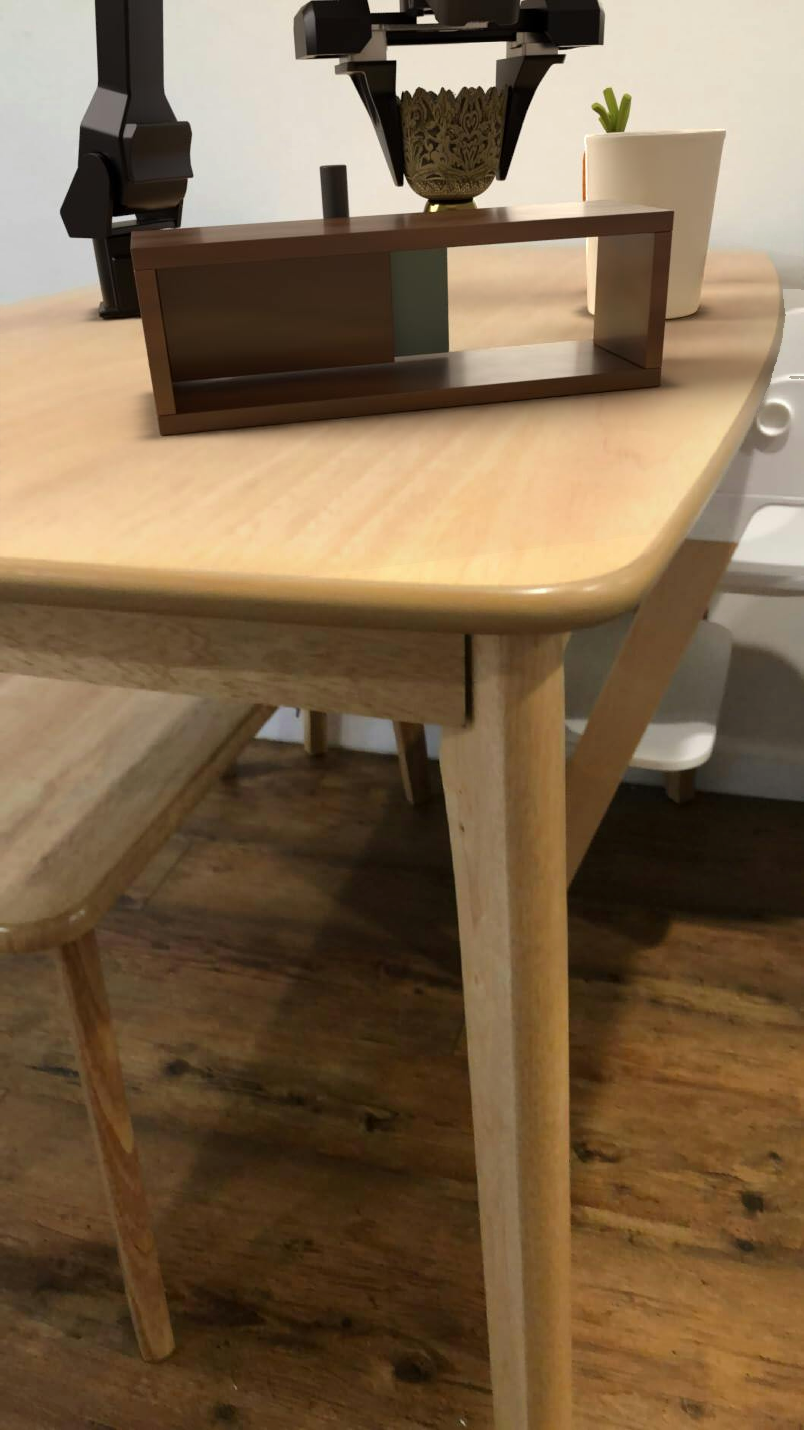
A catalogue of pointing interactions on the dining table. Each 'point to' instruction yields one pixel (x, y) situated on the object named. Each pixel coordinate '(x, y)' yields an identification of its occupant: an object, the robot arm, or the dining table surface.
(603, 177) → the white plant pot
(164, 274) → the display case
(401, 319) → the dark piece
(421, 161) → the cup
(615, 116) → the carrot
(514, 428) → the dining table surface
